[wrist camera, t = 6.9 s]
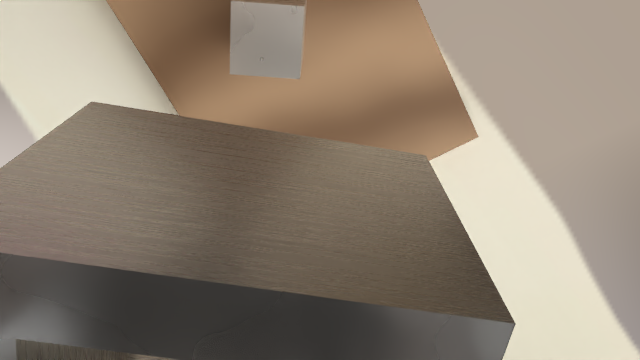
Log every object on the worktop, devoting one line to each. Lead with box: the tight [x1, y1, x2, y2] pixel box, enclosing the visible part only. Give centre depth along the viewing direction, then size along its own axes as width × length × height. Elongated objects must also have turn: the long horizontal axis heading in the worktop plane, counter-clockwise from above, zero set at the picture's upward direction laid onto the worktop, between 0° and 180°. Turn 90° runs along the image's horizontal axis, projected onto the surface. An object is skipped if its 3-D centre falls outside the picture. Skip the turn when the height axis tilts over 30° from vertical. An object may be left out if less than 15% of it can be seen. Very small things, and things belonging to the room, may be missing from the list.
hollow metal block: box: [0, 102, 515, 360], centre depth 9 cm, size 6×6×5 cm
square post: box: [230, 0, 307, 79], centre depth 23 cm, size 3×3×5 cm
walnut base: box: [106, 0, 478, 161], centre depth 26 cm, size 18×12×2 cm, turn 28°
